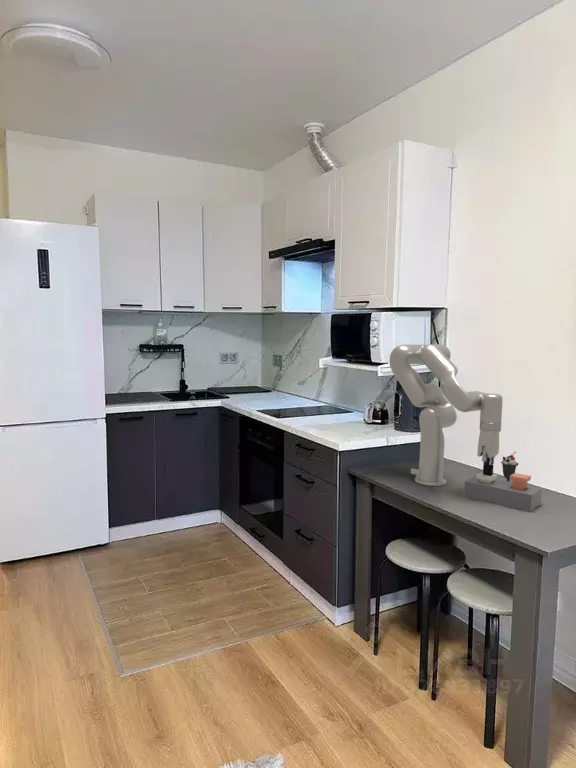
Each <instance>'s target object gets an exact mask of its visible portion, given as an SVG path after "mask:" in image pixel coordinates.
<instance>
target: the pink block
mask: <svg viewBox="0 0 576 768" xmlns="http://www.w3.org/2000/svg"><path fill="white" fill-rule="evenodd" d="M531 478H532V475H527V474H521V473H518V472H515V473H514V474H512V475H510V481H511V482H512V488H513V489H518V490H523V491H525V490H526V489H527V485H528V482H530V481H531V480H532V479H531Z"/></svg>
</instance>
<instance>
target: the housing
mask: <svg viewBox="0 0 576 768" xmlns="http://www.w3.org/2000/svg"><path fill="white" fill-rule="evenodd" d="M463 488H464V490H463V497H464V498H469V499H473V500H477V501H481V502H486V503H491V504H494V505H495V504H496V505H499V506H504V507H507V508H511V507H512V508H513V509H517V510H521V511H526V512H529V513H530V512H532V511H534V510H535V509H536V508H537V507H539V506H540V505H542V503H541V502H542V494H543V493H542V491H543V487H537V486H534V485H528V484H527V489H526V490H525V491H523V490H518V489H513V488H512V481H510V482H509V481H507V480H504V479H498V478H497V479H495V480H494V482H493V483H491V484H489V483H484V482H479V479H477V474H476V475H474V476H472V477H470V478H469V479H466V480H464V487H463Z"/></svg>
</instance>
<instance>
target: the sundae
mask: <svg viewBox="0 0 576 768" xmlns="http://www.w3.org/2000/svg"><path fill="white" fill-rule="evenodd" d="M516 453H517V452H516V451H514V452H513V453H512V454H510V455H508V456H506V457H505V456H502V461H500V463H501V464H502V474H503V477H504V478H505V479H506V481H509V482H511V480H510V475H512V474H514V473H516V470H517V467H518V465H519V462H517V461H516V457H514V454H516Z"/></svg>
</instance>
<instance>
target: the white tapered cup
mask: <svg viewBox="0 0 576 768" xmlns="http://www.w3.org/2000/svg"><path fill="white" fill-rule="evenodd" d="M476 475H477V479H479V482H484V483H489V484H491V483H493V482H494V480H495V479H498V474H495V473H493V475H491V476H489V475H484V474H483V471H480V472H479V473H477V474H476Z"/></svg>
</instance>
